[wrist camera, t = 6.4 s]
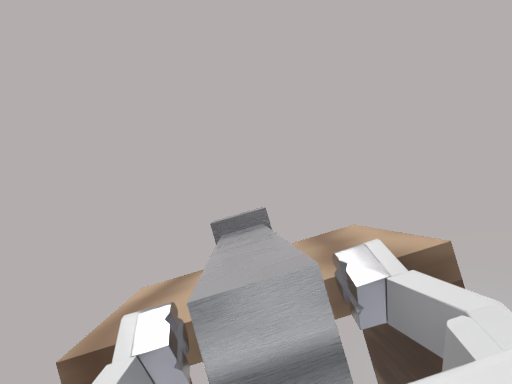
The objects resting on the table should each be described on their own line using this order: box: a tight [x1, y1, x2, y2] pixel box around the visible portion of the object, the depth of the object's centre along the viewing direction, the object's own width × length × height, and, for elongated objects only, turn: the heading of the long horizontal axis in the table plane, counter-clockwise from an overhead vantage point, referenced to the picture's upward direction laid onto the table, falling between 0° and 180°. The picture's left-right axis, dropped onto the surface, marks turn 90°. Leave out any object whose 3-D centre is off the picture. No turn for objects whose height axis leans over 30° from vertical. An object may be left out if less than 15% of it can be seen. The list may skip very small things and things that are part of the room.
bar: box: [187, 207, 353, 384], centre depth 17 cm, size 4×20×4 cm, turn 1°
